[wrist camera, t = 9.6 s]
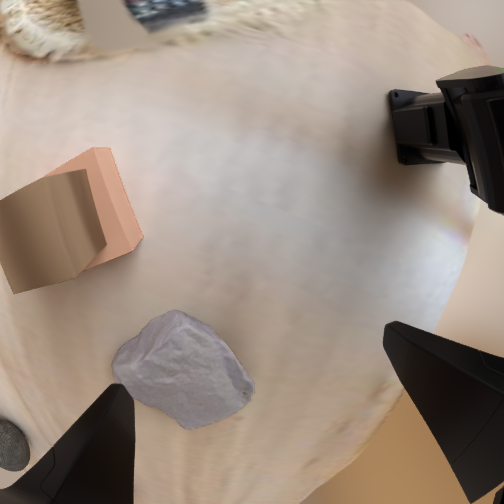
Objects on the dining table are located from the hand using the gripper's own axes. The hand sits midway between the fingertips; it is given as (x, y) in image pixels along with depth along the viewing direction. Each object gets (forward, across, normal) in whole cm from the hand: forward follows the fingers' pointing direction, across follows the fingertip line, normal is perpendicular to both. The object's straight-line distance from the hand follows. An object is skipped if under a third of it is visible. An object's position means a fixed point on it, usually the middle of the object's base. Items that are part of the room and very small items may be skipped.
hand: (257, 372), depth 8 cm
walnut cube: (+10, +10, -5) cm, 15 cm away
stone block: (+14, +6, +11) cm, 18 cm away
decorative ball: (+13, +46, +24) cm, 54 cm away
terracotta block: (+13, +10, -5) cm, 17 cm away
